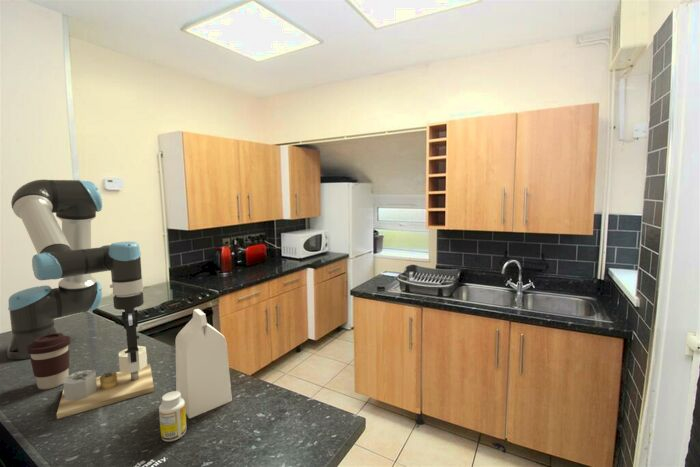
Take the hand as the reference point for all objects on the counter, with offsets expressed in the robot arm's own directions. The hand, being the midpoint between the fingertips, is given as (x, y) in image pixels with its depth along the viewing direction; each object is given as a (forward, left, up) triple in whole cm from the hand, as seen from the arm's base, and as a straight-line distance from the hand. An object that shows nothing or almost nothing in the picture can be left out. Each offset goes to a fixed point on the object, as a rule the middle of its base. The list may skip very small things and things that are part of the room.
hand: (134, 365), depth 103 cm
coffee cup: (-15, -21, -6) cm, 26 cm away
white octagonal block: (0, 0, 0) cm, 0 cm away
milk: (+20, +16, -6) cm, 27 cm away
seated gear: (0, -13, -4) cm, 14 cm away
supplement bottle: (+31, +7, -6) cm, 33 cm away
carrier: (0, -7, -6) cm, 9 cm away
